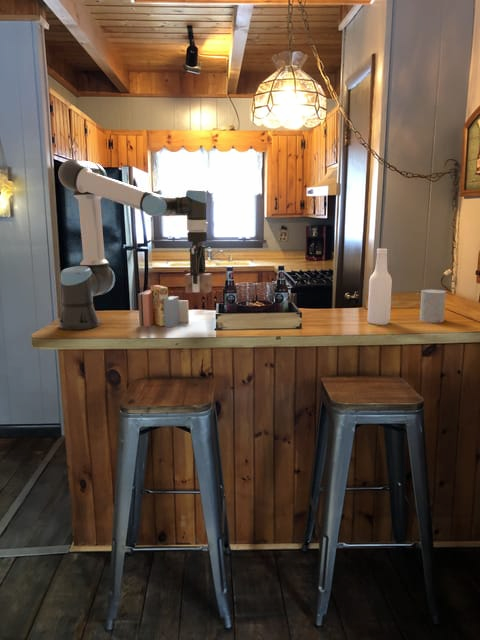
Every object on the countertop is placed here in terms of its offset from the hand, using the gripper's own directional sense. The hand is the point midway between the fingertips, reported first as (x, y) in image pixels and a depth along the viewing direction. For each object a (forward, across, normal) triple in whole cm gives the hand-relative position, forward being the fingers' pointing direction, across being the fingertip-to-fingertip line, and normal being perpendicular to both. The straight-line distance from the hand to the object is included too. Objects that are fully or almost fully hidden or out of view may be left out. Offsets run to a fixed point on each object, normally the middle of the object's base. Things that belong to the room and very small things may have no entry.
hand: (198, 290), depth 202 cm
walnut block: (0, 0, 0) cm, 0 cm away
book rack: (+14, +2, +16) cm, 21 cm away
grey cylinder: (+15, +28, -92) cm, 98 cm away
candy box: (+14, 0, +16) cm, 22 cm away
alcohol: (+14, +19, -70) cm, 74 cm away
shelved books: (+14, 0, +16) cm, 22 cm away
